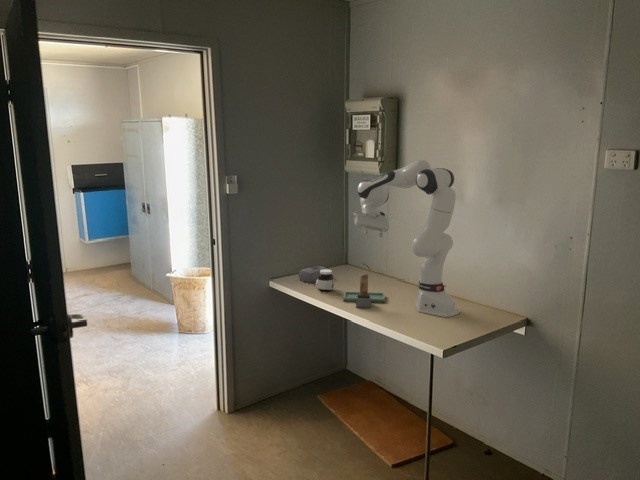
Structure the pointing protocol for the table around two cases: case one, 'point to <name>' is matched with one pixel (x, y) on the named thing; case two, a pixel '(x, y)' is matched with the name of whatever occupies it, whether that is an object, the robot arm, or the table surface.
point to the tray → (374, 296)
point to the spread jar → (325, 280)
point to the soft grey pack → (310, 274)
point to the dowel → (363, 286)
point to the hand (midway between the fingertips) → (373, 234)
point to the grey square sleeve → (363, 302)
